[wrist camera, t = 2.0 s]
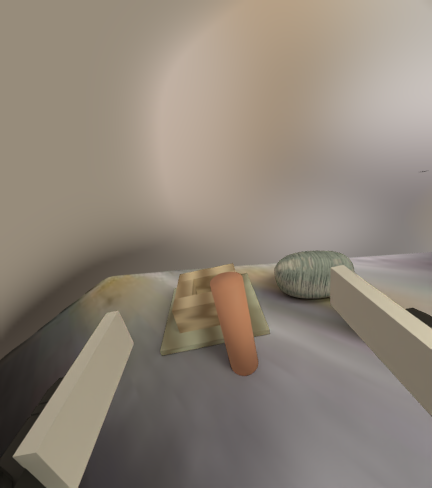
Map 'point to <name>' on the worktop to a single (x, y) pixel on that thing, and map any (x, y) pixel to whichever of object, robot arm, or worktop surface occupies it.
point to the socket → (203, 312)
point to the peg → (235, 321)
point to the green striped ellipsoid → (309, 273)
